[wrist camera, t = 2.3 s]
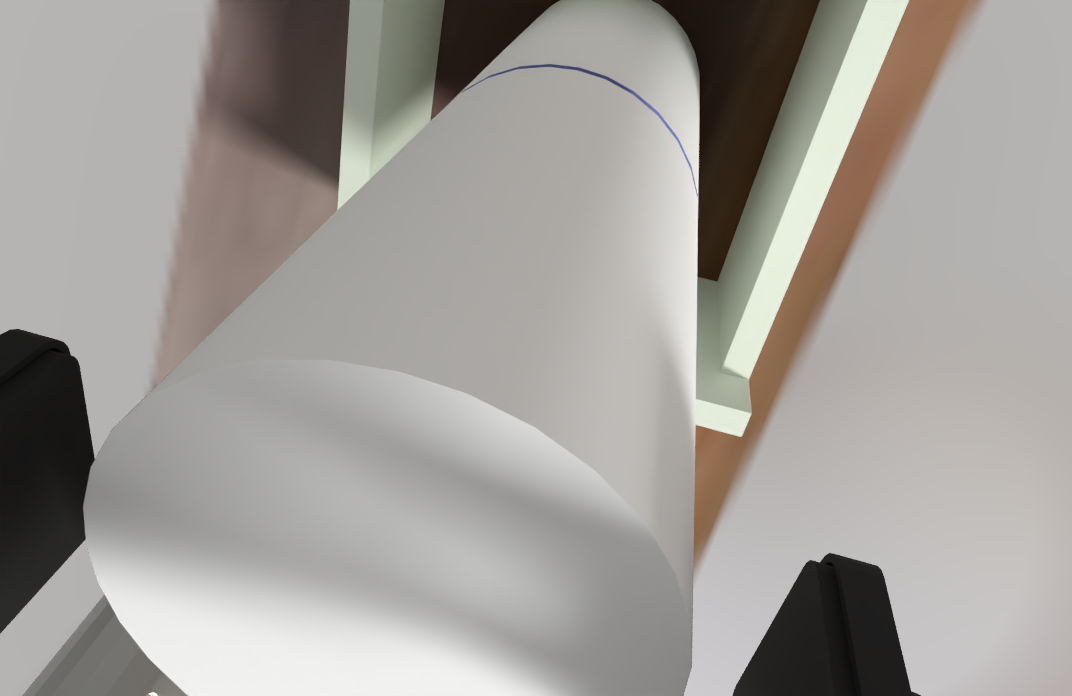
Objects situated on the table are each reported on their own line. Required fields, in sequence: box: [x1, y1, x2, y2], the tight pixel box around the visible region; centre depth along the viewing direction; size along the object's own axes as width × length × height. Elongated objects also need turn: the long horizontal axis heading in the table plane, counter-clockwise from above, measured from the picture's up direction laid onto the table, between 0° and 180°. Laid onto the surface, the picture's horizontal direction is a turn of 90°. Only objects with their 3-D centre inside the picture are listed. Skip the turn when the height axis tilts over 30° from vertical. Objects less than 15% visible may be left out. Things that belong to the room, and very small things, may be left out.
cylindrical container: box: [83, 0, 700, 696], centre depth 20 cm, size 7×7×25 cm
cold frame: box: [337, 0, 909, 437], centre depth 26 cm, size 15×15×9 cm
